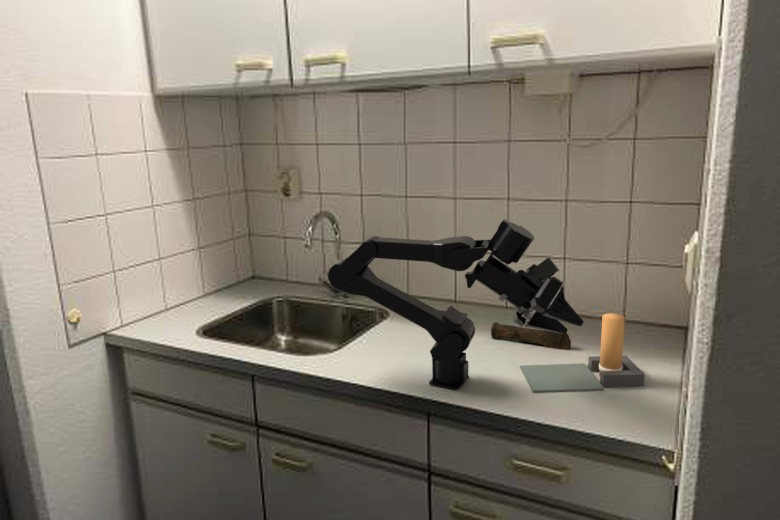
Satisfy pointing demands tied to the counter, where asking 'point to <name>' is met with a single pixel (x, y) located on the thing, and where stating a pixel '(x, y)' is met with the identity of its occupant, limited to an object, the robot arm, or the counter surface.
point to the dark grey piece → (618, 373)
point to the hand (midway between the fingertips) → (574, 328)
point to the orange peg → (611, 342)
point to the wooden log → (531, 336)
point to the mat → (560, 378)
